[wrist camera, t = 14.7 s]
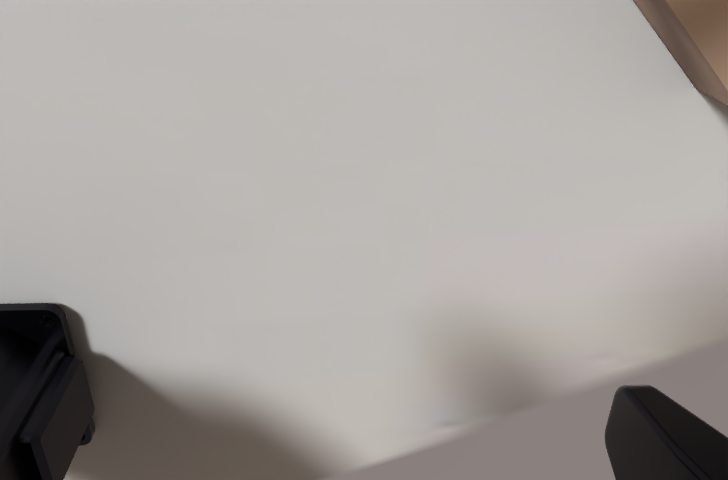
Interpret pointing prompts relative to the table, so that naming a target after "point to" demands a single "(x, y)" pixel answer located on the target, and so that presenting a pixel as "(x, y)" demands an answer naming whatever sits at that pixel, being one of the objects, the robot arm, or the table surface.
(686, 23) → the keyhole block
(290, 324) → the table surface
